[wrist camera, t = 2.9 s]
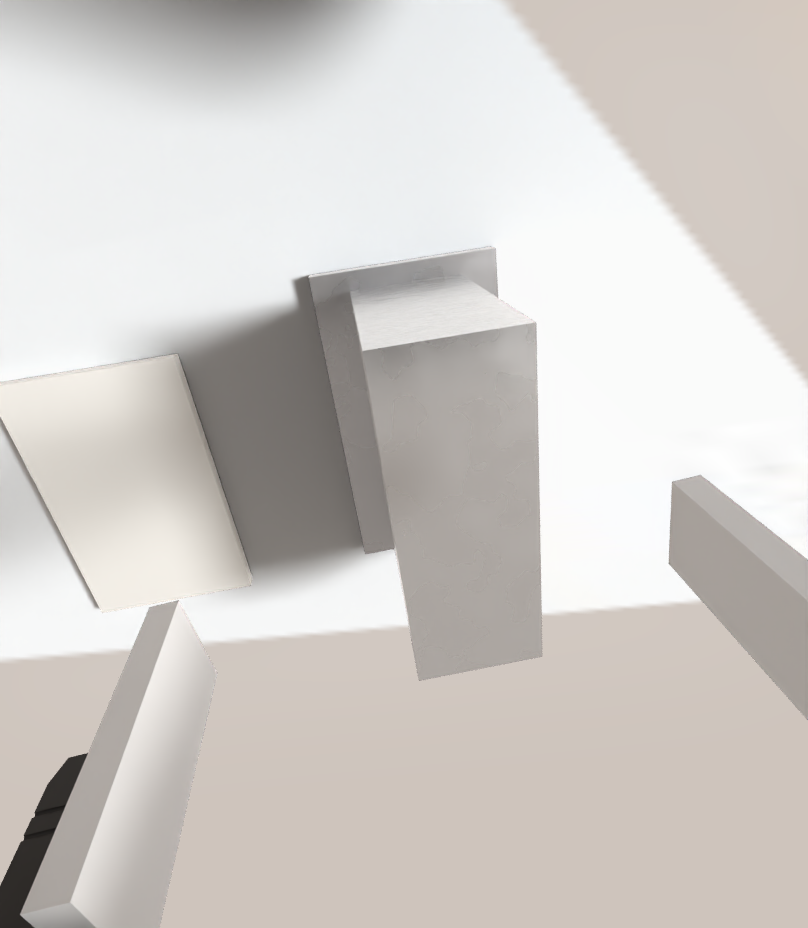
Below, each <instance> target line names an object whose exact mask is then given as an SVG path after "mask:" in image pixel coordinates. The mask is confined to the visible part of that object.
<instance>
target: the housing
mask: <svg viewBox="0 0 808 928" xmlns="http://www.w3.org/2000/svg"><path fill="white" fill-rule="evenodd" d="M309 283H310V288H311V292H312V297H313V302H314V307H315V312H316V317H317V322H318V327H319V331H320V336H321V341H322V346H323V351H324V356H325V361H326V366H327V370H328V375H329V380H330V385H331V390H332V395H333V400H334V405H335V409H336V414H337V419H338V424H339V429H340V434H341V439H342V444H343V448H344V453H345V458H346V463H347V468H348V473H349V478H350V482H351V487H352V492H353V497H354V502H355V507H356V512H357V517H358V521H359V526H360V531H361V536H362V541H363V546H364V551H365V554H369V553H374V552H379V551H385V550H390V549H395V554H396V559H397V565H398V570H399V576H400V581H401V586H402V592H403V597H404V603H405V608H406V613H407V619H408V624H409V630H410V635H411V641H412V646H413V651H414V657H415V662H416V668H417V673H418V678H419V681H421V680H426V679H431V678H436V677H441V676H446V675H451V674H456V673H461V672H466V671H472V670H477V669H482V668H487V667H492V666H497V665H502V664H507V663H512V662H517V661H522V660H527V659H532V658H538V657H542V609H541V555H540V501H539V447H538V393H537V339H536V322H535V321H533V320H532V319H530V318H529V317H527V316H526V315H524V314H522V313H521V312H519V311H518V310H516V309H515V308H513V307H512V306H510V305H508V304H507V303H505V302H504V301H502V300H501V299H499V298H498V285H497V265H496V248H494V247H491V246H490V247H484V248H478V249H471V250H465V251H459V252H452V253H446V254H440V255H433V256H427V257H420V258H414V259H408V260H401V261H395V262H389V263H382V264H376V265H370V266H363V267H357V268H351V269H344V270H338V271H331V272H325V273H319V274H312V275H309Z"/></svg>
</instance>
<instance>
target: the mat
mask: <svg viewBox="0 0 808 928" xmlns="http://www.w3.org/2000/svg"><path fill="white" fill-rule="evenodd" d="M0 417H1V419H2V421H3V423H4V425H5V427H6V429H7V430H8V432H9V434H10V436H11V438H12V440H13V442H14V444H15V446H16V448H17V450H18V452H19V454H20V456H21V457H22V459H23V461H24V463H25V465H26V467H27V469H28V471H29V473H30V475H31V477H32V479H33V481H34V483H35V484H36V486H37V488H38V490H39V492H40V494H41V496H42V498H43V500H44V502H45V504H46V506H47V508H48V510H49V511H50V513H51V515H52V517H53V519H54V521H55V523H56V525H57V527H58V529H59V531H60V533H61V535H62V537H63V539H64V540H65V542H66V544H67V546H68V548H69V550H70V552H71V554H72V556H73V558H74V560H75V562H76V564H77V566H78V567H79V569H80V571H81V573H82V575H83V577H84V579H85V581H86V583H87V585H88V587H89V589H90V591H91V593H92V594H93V596H94V598H95V600H96V602H97V604H98V606H99V608H100V610H101V612H102V613H105V612H111V611H116V610H122V609H127V608H132V607H138V606H143V605H149V604H154V603H159V602H165V601H170V600H176V599H181V598H187V597H192V596H197V595H203V594H208V593H214V592H219V591H224V590H230V589H235V588H241V587H246V586H251V584H252V575H251V572H250V569H249V566H248V563H247V560H246V557H245V554H244V551H243V548H242V545H241V542H240V539H239V536H238V533H237V530H236V527H235V524H234V521H233V518H232V515H231V512H230V509H229V506H228V503H227V500H226V497H225V494H224V491H223V488H222V485H221V482H220V479H219V476H218V473H217V470H216V467H215V464H214V461H213V458H212V455H211V452H210V449H209V446H208V443H207V440H206V437H205V434H204V431H203V428H202V425H201V422H200V419H199V416H198V413H197V410H196V407H195V404H194V401H193V398H192V395H191V392H190V389H189V386H188V383H187V380H186V377H185V374H184V371H183V368H182V365H181V362H180V359H179V356H178V354H172V355H166V356H159V357H153V358H147V359H141V360H135V361H129V362H123V363H116V364H110V365H104V366H98V367H92V368H86V369H79V370H73V371H67V372H61V373H55V374H49V375H43V376H36V377H30V378H24V379H18V380H12V381H6V382H0Z"/></svg>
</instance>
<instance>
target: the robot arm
mask: <svg viewBox="0 0 808 928" xmlns="http://www.w3.org/2000/svg"><path fill="white" fill-rule="evenodd" d="M669 564H670V566H671V567H672V568H673V569H674V570H675V571H676V572H677V573H678V575H679V576H680V577H681V578H682V579H683V580H684V581H685V583H686V584H687V585H688V586H689V587H690V588H691V589H692V590H693V592H694V593H695V594H696V595H697V596H698V597H699V598H700V599H701V601H702V602H703V603H704V604H705V605H706V606H707V607H708V608H709V609H710V611H711V612H712V613H713V614H714V615H715V616H716V617H717V619H718V620H719V621H720V622H721V623H722V624H723V625H724V626H725V628H726V629H727V630H728V631H729V632H730V633H731V634H732V635H733V637H734V638H735V639H736V640H737V641H738V642H739V643H740V644H741V646H742V647H743V648H744V649H745V650H746V651H747V652H748V653H749V655H751V657H752V658H753V659H754V660H755V661H756V663H757V664H758V665H759V666H760V667H761V668H762V669H763V670H764V672H765V673H766V674H767V675H768V676H769V677H770V678H771V679H772V681H773V682H774V683H775V684H776V685H777V686H778V687H779V688H780V689H781V691H782V692H783V693H784V694H785V695H786V696H787V697H788V699H789V700H790V701H791V702H792V703H793V704H794V705H795V706H796V708H797V709H798V710H799V711H800V712H801V713H802V714H803V715H804V716H805V718H806V719H807V720H808V560H807V559H806V558H805V557H804V556H802V555H801V554H800V553H799V552H797V551H796V550H795V549H793V548H792V547H791V546H790V545H788V544H787V543H786V542H785V541H783V540H782V539H781V538H780V537H778V536H777V535H776V534H775V533H773V532H772V531H771V530H769V529H768V528H767V527H766V526H764V525H763V524H762V523H761V522H759V521H758V520H757V519H756V518H754V517H753V516H752V515H750V514H749V513H748V512H747V511H745V510H744V509H743V508H742V507H740V506H739V505H738V504H737V503H735V502H734V501H733V500H732V499H730V498H729V497H728V496H726V495H725V494H724V493H723V492H721V491H720V490H719V489H718V488H716V487H715V486H714V485H713V484H711V483H710V482H709V481H708V480H706V479H705V478H704V477H702V476H701V475H698V476H694V477H690V478H686V479H682V480H677V481H673V482H672V496H671V519H670V543H669ZM216 677H217V671H216V669H215V667H214V666H213V664H212V662H211V660H210V658H209V656H208V654H207V652H206V651H205V648H204V647H203V645H202V643H201V641H200V639H199V637H198V635H197V633H196V632H195V630H194V628H193V626H192V624H191V622H190V620H189V619H188V617H187V615H186V613H185V611H184V609H183V607H182V605H181V604H180V602H179V600H178V601H174V602H170V603H166V604H161V605H157V606H153V607H150V608H149V610H148V612H147V615H146V617H145V619H144V622H143V624H142V627H141V629H140V631H139V634H138V636H137V638H136V641H135V643H134V646H133V648H132V650H131V653H130V655H129V657H128V660H127V662H126V665H125V667H124V669H123V672H122V674H121V676H120V679H119V681H118V684H117V686H116V688H115V691H114V693H113V695H112V698H111V700H110V703H109V705H108V707H107V710H106V712H105V714H104V717H103V719H102V721H101V724H100V726H99V729H98V731H97V733H96V736H95V738H94V740H93V743H92V745H91V747H90V750H89V752H88V753H87V754H83V755H78V756H74V757H70V758H68V759H67V761H66V762H65V763H64V764H63V766H62V767H61V768H60V770H59V771H58V772H57V773H56V775H55V776H54V777H53V778H52V780H51V781H50V782H49V784H48V785H47V787H46V789H45V791H44V794H43V796H42V798H41V800H40V802H39V804H38V806H37V809H36V811H35V817H34V818H32V819H31V821H30V823H29V826H28V828H27V830H26V832H25V834H24V841H22V842H21V843H20V845H19V847H18V850H17V851H16V853H15V856H14V858H13V860H12V862H11V864H10V866H9V869H8V870H7V873H6V875H5V877H4V879H3V881H2V883H1V886H0V928H159V927H160V923H161V919H162V914H163V910H164V905H165V901H166V896H167V892H168V888H169V884H170V879H171V875H172V870H173V866H174V862H175V857H176V853H177V848H178V844H179V839H180V835H181V831H182V826H183V822H184V818H185V813H186V809H187V804H188V800H189V796H190V791H191V787H192V783H193V778H194V773H195V769H196V765H197V760H198V756H199V752H200V747H201V743H202V739H203V734H204V730H205V725H206V721H207V717H208V712H209V708H210V703H211V699H212V695H213V690H214V686H215V681H216Z"/></svg>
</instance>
